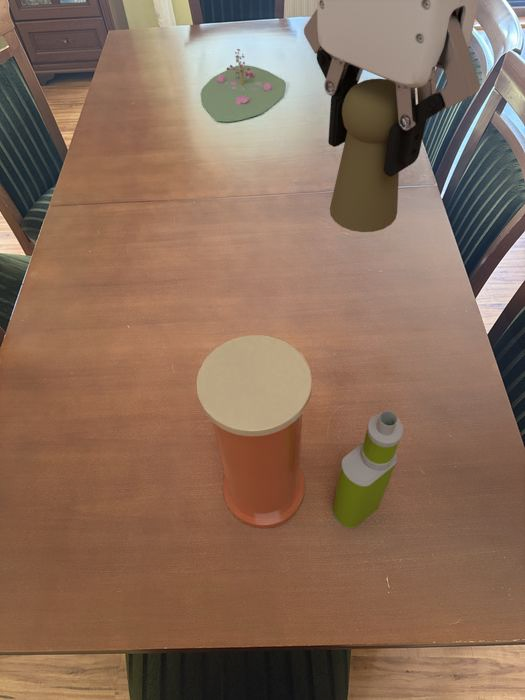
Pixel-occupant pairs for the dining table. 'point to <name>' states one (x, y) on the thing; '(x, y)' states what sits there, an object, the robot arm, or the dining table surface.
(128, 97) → the dining table surface
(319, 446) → the dining table surface
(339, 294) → the dining table surface
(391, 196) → the olive pawn
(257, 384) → the column
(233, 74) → the plant
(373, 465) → the vape
